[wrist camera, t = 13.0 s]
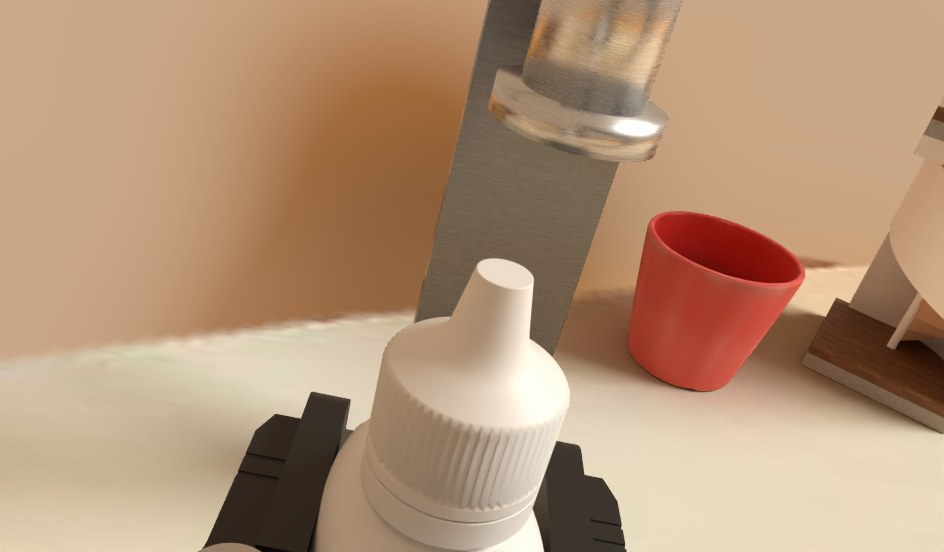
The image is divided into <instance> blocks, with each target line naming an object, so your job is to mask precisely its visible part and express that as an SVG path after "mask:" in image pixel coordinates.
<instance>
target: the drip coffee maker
mask: <svg viewBox="0 0 944 552" xmlns="http://www.w3.org/2000/svg"><path fill="white" fill-rule="evenodd" d="M913 154H915V155H918V156H921V157H923V158H926V159H925V161H924V162H923V164H922V166H921V168H920V170H919V171H918V173H917V175H916V177H915V179H914V181H913V182H912V184H911V186H910V188H909V190H908V192H907V194H906V195H905V197H904V199H903V201H902V203H901V204H900V206H899V208H898V210H897V212H896V214H895V215H894V217H893V219H892V222H891V225H890V230H889V232H888V234H887V236H886V238H885V240H884V241H883V243H882V245H881V247H880V249H879V251H878V252H877V254H876V256H875V258H874V260H873V261H872V263H871V265H870V267H869V269H868V271H867V272H866V274H865V276H864V278H863V280H862V282H861V283H860V285H859V287H858V289H857V291H856V292H855V294H854V296H853V298H852V300H851V302H850V303H848V302H845V301H843V300H841V299H839V298H836V299H835V301H834V303H833V305H832V307H831V308H830V310H829V312H828V314H827V316H826V318H825V319H824V321H823V323H822V325H821V327H820V329H819V330H818V332H817V334H816V336H815V338H814V340H813V342H812V343H811V345H810V347H809V349H808V351H807V353H806V355H805V356H804V358H803V360H802V362H801V365H803V366H806V367H808V368H810V369H812V370H814V371H816V372H818V373H820V374H822V375H824V376H826V377H828V378H830V379H832V380H834V381H836V382H838V383H840V384H842V385H844V386H846V387H848V388H850V389H852V390H855V391H857V392H859V393H861V394H863V395H865V396H867V397H869V398H871V399H873V400H875V401H877V402H879V403H881V404H883V405H885V406H887V407H889V408H891V409H893V410H895V411H897V412H899V413H901V414H904V415H906V416H908V417H910V418H912V419H914V420H916V421H918V422H920V423H922V424H924V425H926V426H928V427H930V428H932V429H934V430H936V431H938V432H940V433H942V434H943V433H944V97H943V99H942V101H941V102H940V105H939V106H938V108H937V110H936V112H935V114H934V116H933V118H932V119H931V121H930V123H929V125H928V127H927V129H926V131H925V132H924V134H923V136H922V138H921V140H920V142H919V144H918V145H917V147H916V149H915V151H914V153H913Z"/></svg>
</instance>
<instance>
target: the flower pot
mask: <svg viewBox="0 0 944 552" xmlns="http://www.w3.org/2000/svg"><path fill="white" fill-rule="evenodd" d="M804 278H805V269H804V267H803V265H802V264H801V262H800V261H799V260H798V259H797V258H796V257H795V256H794V255H793V254H792V253H791V252H789V251H788V250H787V249H786V248H784V247H783V246H781V245H780V244H778V243H777V242H775V241H773V240H772V239H770V238H768V237H766V236H764V235H762V234H760V233H757V232H756V231H753V230H751V229H749V228H746V227H744V226H742V225H739V224H737V223H734V222H731V221H728V220H724V219H721V218H718V217H714V216H709V215H705V214H700V213H693V212H682V211H675V212H665V213H661V214H659V215H657V216H655V217H654V218H652V220H651V221H650V223H649V225H648V228H647V232H646V237H645V242H644V247H643V252H642V257H641V263H640V268H639V273H638V279H637V284H636V290H635V296H634V302H633V308H632V315H631V322H630V329H629V336H628V348H629V351H630V353H631V355H632V356H633V358H634V359H635V360H636V361H637V362H638V363H639V364H640V365H641V366H642V367H643V368H644V369H645V370H647V371H648V372H649V373H651V374H652V375H654V376H656V377H658V378H659V379H661V380H663V381H665V382H668V383H670V384H673V385H675V386H679V387H683V388H692V389H694V390H697V391H712V390H717V389H720V388H722V387H724V386H725V385H726V384H727V383H728V382H729V381H730V380H731V378H732V377H733V376H734V375H735V373H736V372H737V371H738V370H739V368H740V367H741V366H742V364H743V363H744V362H745V361H746V359H747V358H748V357H749V356H750V354H751V353H752V352H753V350H754V349H755V348H756V346H757V345H758V344H759V342H760V341H761V340H762V338H763V337H764V336H765V334H766V333H767V332H768V330H769V329H770V328H771V326H772V325H773V324H774V322H775V321H776V319H777V318H778V317H779V315H780V314H781V313H782V311H783V310H784V308H785V307H786V306H787V304H788V303H789V301H790V300H791V298H792V297H793V296H794V294H795V293H796V291H797V290H798V288H799V287H800V285H801V284H802V282H803V281H804Z"/></svg>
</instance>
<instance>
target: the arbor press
mask: <svg viewBox="0 0 944 552" xmlns="http://www.w3.org/2000/svg"><path fill="white" fill-rule="evenodd" d="M682 2H683V0H488V5H487V9H486V13H485V17H484V22H483V26H482V31H481V35H480V39H479V43H478V48H477V52H476V56H475V61H474V65H473V69H472V73H471V78H470V82H469V86H468V91H467V95H466V100H465V104H464V108H463V112H462V116H461V121H460V125H459V130H458V134H457V138H456V142H455V147H454V151H453V155H452V159H451V164H450V168H449V172H448V177H447V181H446V185H445V190H444V194H443V198H442V202H441V207H440V211H439V215H438V220H437V224H436V228H435V233H434V237H433V242H432V246H431V250H430V254H429V258H428V263H427V267H426V271H425V276H424V280H423V284H422V289H421V293H420V297H419V302H418V306H417V310H416V314H415V319H414V323H417V322H420V321H423V320H427V319H431V318H438V317H451V316H452V314H453V312H454V310H455V308H456V306H457V304H458V302H459V300H460V298H461V296H462V294H463V292H464V290H465V288H466V286H467V284H468V282H469V280H470V278H471V276H472V274H473V272H474V270H475V268H476V266H477V264H478V263H479V262H480V261H482V260H484V259H491V258H496V259H504V260H508V261H512V262H514V263H517V264H519V265H521V266H523V267H524V268H526V269H527V270H528V271H529V272H530V273H531V274H532V275H533V278H534V284H533V296H532V308H531V320H530V332H529V339H531V340H532V341H534V342H535V343H537V344H538V345H539V346H541V347H542V348H543V349H544V350H545V351H547V352H548V353H549V354H550V355H551V356H553V353H554V350H555V347H556V345H557V342H558V339H559V336H560V333H561V330H562V327H563V324H564V321H565V318H566V315H567V313H568V310H569V307H570V304H571V301H572V298H573V295H574V292H575V289H576V286H577V283H578V281H579V277H580V275H581V272H582V269H583V266H584V263H585V260H586V257H587V254H588V252H589V249H590V246H591V242H592V240H593V237H594V234H595V231H596V228H597V225H598V222H599V220H600V217H601V214H602V211H603V208H604V205H605V202H606V199H607V196H608V193H609V190H610V188H611V185H612V182H613V179H614V176H615V173H616V170H617V167H618V164H619V162H641V161H646V160H649V159H651V158H653V157H654V156H655V154H656V152H657V149H658V147H659V144H660V141H661V138H662V136H663V133H664V130H665V128H666V125H667V122H668V116H667V114H666V113H665V111H664V110H662V109H661V108H660V107H659V106H657V105H656V104H654V103H653V102H651V101H649V96H650V94H651V91H652V88H653V85H654V82H655V79H656V76H657V74H658V71H659V68H660V65H661V62H662V59H663V57H664V54H665V51H666V48H667V45H668V42H669V39H670V36H671V34H672V31H673V28H674V25H675V22H676V19H677V16H678V14H679V11H680V8H681V5H682ZM414 323H413V324H414ZM352 432H353V430H348V429H346V430H345V435H344V441H343V443H344V442H345V441H346V439H347V438H348V437H349V436H350V434H351V433H352Z"/></svg>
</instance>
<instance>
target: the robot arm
mask: <svg viewBox="0 0 944 552" xmlns="http://www.w3.org/2000/svg"><path fill="white" fill-rule="evenodd" d="M350 401H351V399H346V398H341V397H336V396H331V395H326V394H321V393H316V392H311V393H310V396H309V398H308V401H307V404H306V407H305V409H304V412H303V415H302V417H301V419H299V418H294V417H289V416H284V415H279V414H275V415H274V416H272V417H271V418H270V419H269V420H268V421H267V422H265V423H264V424H263V425H262V426H261V427H259V428H258V429H257V430H256V431H255V433H254V436H253V438H252V440H251V442H250V445H249V447H248V449H247V452H246V455H245V457H244V458H243V461H242V463H241V465H240V467H239V470H238V474H237V475H236V477H235V479H234V481H233V483H232V486H231V488H230V490H229V493H228V495H227V497H226V499H225V502H224V504H223V506H222V508H221V511H220V513H219V515H218V518H217V520H216V522H215V524H214V527H213V529H212V531H211V534H210V536H209V538H208V540H207V542H206V544H205V546H204V547H203V548H202V550H200V551H198V552H309V549H310V544H311V540H312V535H313V531H314V527H315V522H316V518H317V514H318V510H319V507H320V503H321V499H322V495H323V492H324V488H325V484H326V481H327V478H328V475H329V471H330V468H331V465H332V462H333V460H334V458H335V456H336V454H337V453H338V451H339V449H340V448H341V446H342V445H343V441H344V435H345V430H346V424H347V419H348V413H349V408H350ZM532 509H533V512H534V515H535V518H536V521H537V524H538V527H539V531H540V535H541V539H542V544H543V549H544V552H627V551H626V549H625V540H624V535H623V530H621V526H622V524H621V518H620V513H619V508H618V502H617V500H616V499H615V497H614V495H613V494H612V492H611V491H610V489H609V488H608V486H607V485H606V483H605V481H604V480H603V479H602V478H597V477H592V476H587V475H584V469H583V461H582V454H581V449H580V447H579V446H578V445H575V444H570V443H564V442H559V441H556V443H555V446H554V449H553V452H552V455H551V457H550V460H549V463H548V466H547V469H546V472H545V474H544V477H543V480H542V483H541V486H540V488H539V491H538V494H537V497H536V500H535V502H534V505H533V508H532Z"/></svg>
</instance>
